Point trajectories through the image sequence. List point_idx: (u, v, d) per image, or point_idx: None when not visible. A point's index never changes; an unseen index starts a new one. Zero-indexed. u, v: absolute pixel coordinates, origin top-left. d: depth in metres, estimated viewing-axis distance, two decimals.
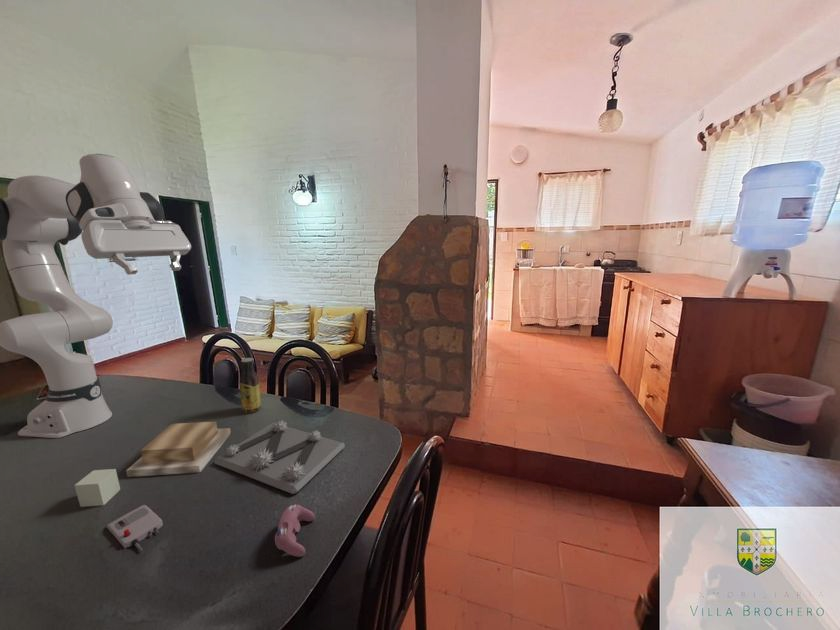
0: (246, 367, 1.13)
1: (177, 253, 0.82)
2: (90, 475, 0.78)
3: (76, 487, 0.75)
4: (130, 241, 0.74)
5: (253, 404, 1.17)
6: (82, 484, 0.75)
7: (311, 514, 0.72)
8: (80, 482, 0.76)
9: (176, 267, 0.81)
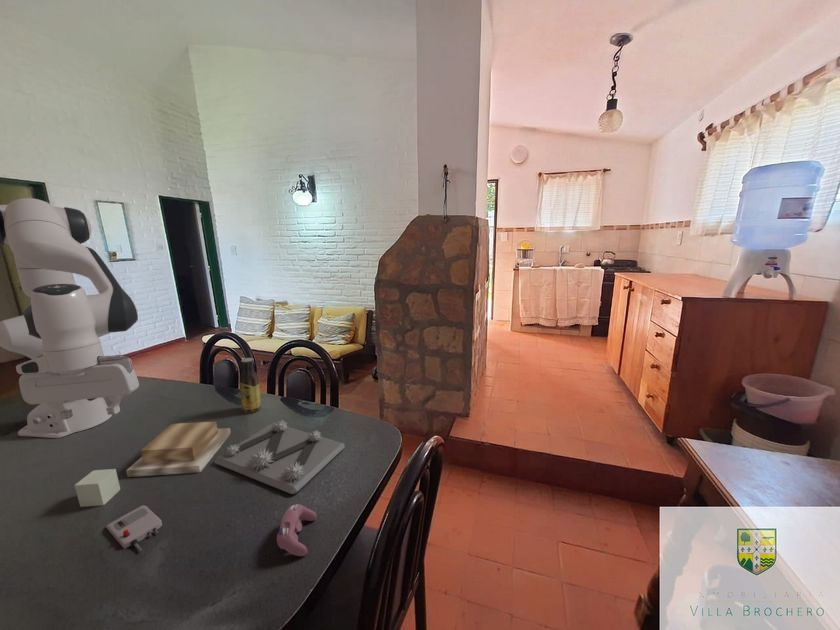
0: (246, 367, 1.13)
1: (113, 398, 0.73)
2: (90, 475, 0.78)
3: (76, 487, 0.75)
4: (59, 391, 0.70)
5: (253, 404, 1.17)
6: (82, 484, 0.75)
7: (313, 514, 0.72)
8: (80, 481, 0.76)
9: (109, 413, 0.74)
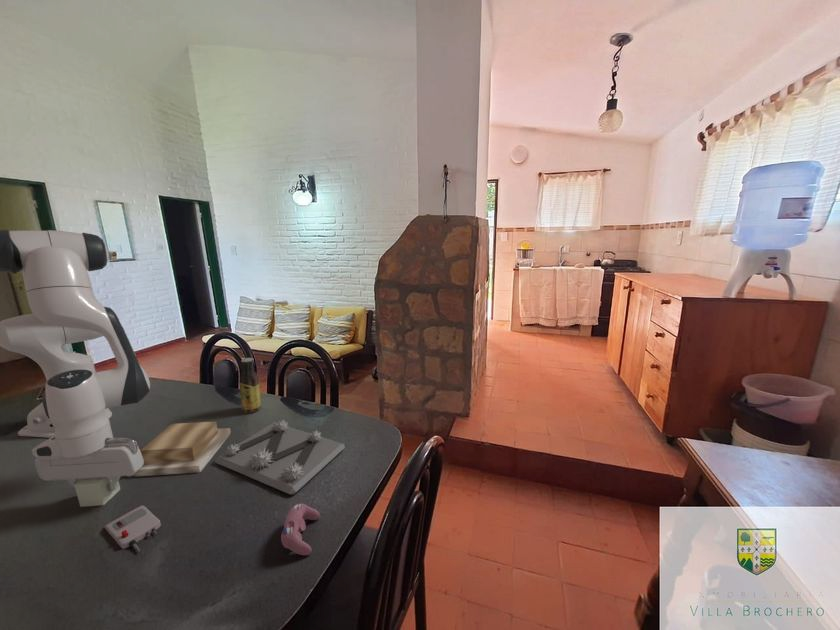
0: (246, 367, 1.13)
1: (112, 477, 0.77)
2: None
3: (76, 487, 0.75)
4: (70, 471, 0.74)
5: (253, 404, 1.17)
6: (82, 484, 0.75)
7: (316, 513, 0.72)
8: (79, 481, 0.75)
9: (109, 490, 0.78)
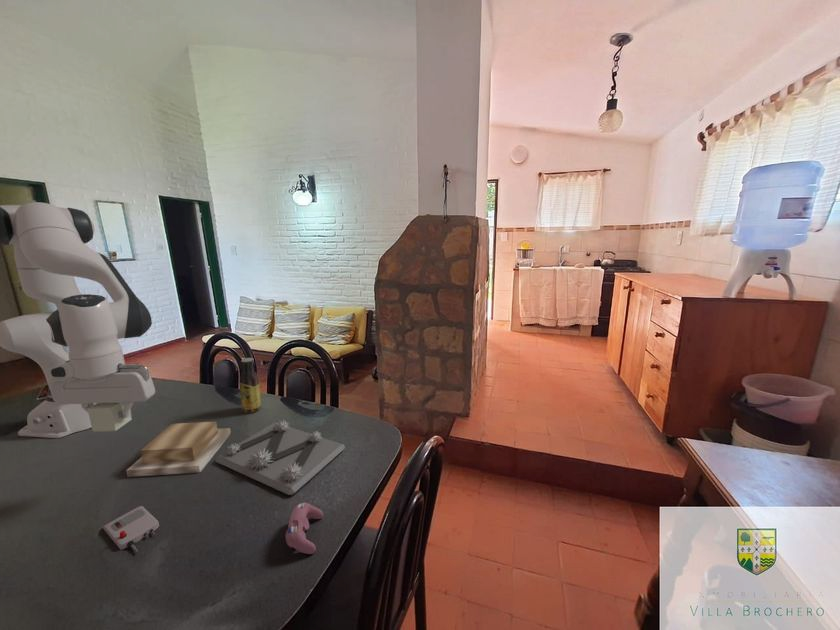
0: (246, 367, 1.13)
1: (124, 404, 0.77)
2: None
3: (89, 411, 0.75)
4: (84, 394, 0.75)
5: (253, 404, 1.17)
6: (95, 408, 0.76)
7: (319, 512, 0.72)
8: (92, 406, 0.76)
9: (121, 417, 0.78)
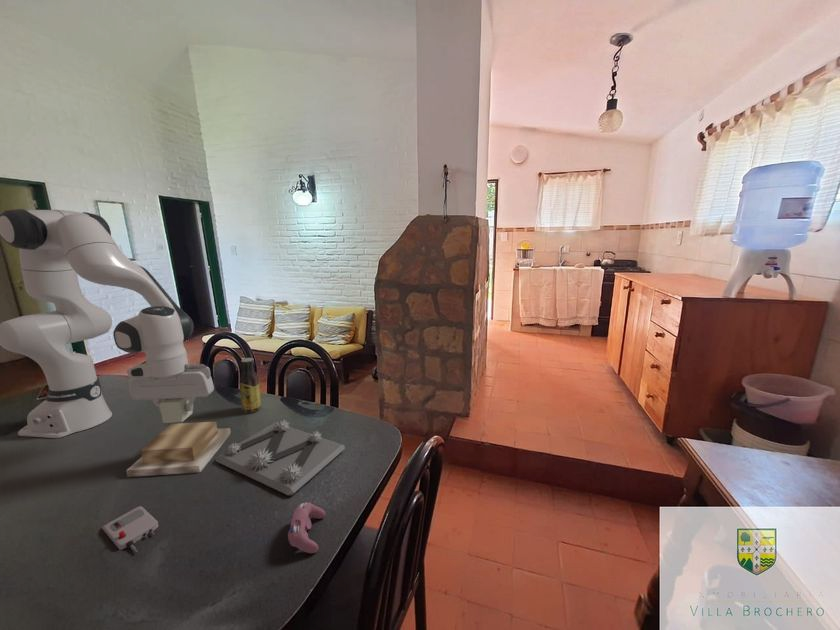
0: (246, 367, 1.13)
1: (189, 399, 0.91)
2: None
3: (160, 405, 0.89)
4: (156, 391, 0.88)
5: (253, 404, 1.17)
6: (165, 402, 0.89)
7: (321, 511, 0.72)
8: (163, 401, 0.89)
9: (186, 410, 0.91)
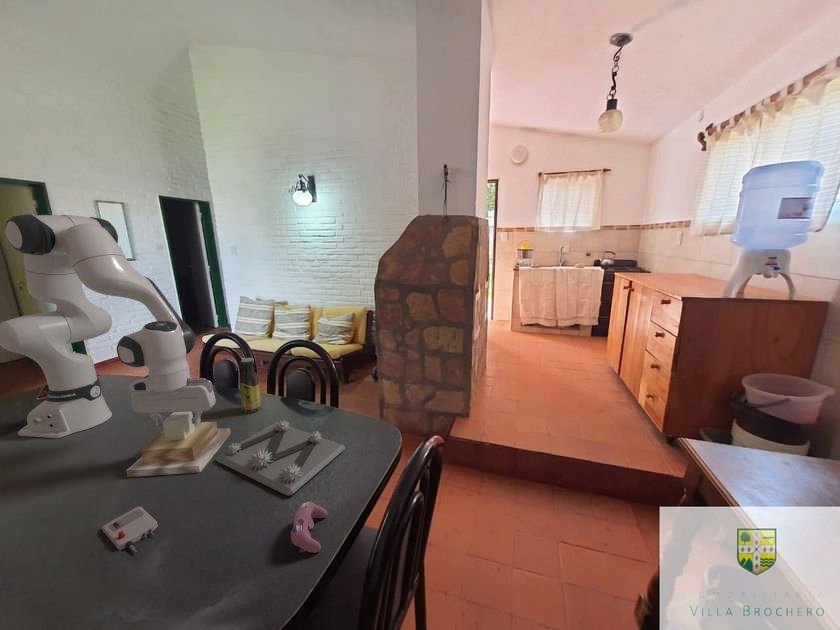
0: (246, 367, 1.13)
1: (197, 412, 0.92)
2: (172, 415, 0.93)
3: (163, 423, 0.90)
4: (158, 405, 0.89)
5: (253, 404, 1.17)
6: (168, 421, 0.90)
7: (324, 511, 0.73)
8: (166, 419, 0.91)
9: (193, 423, 0.93)
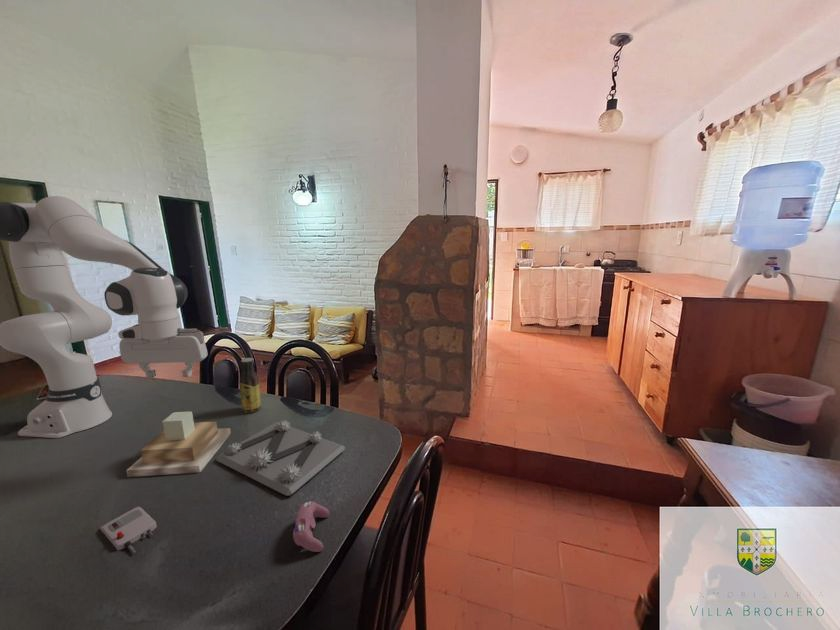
0: (246, 367, 1.13)
1: (188, 363, 0.89)
2: (172, 415, 0.93)
3: (163, 423, 0.90)
4: (148, 355, 0.87)
5: (253, 404, 1.17)
6: (168, 421, 0.90)
7: (325, 510, 0.73)
8: (166, 419, 0.91)
9: (184, 376, 0.90)
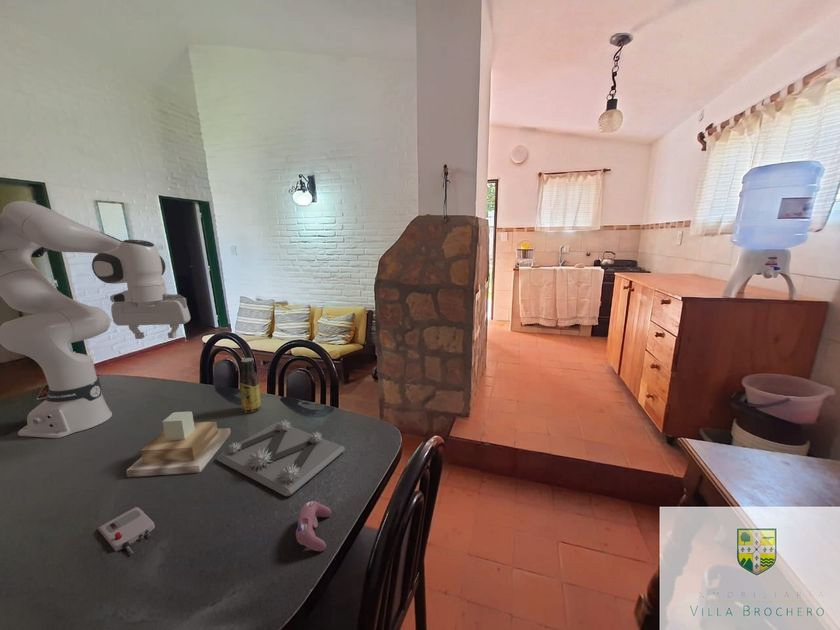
0: (246, 367, 1.13)
1: (172, 326, 1.00)
2: (172, 415, 0.93)
3: (163, 423, 0.90)
4: (137, 317, 0.98)
5: (253, 404, 1.17)
6: (168, 421, 0.90)
7: (328, 510, 0.73)
8: (166, 419, 0.91)
9: (169, 337, 1.01)
